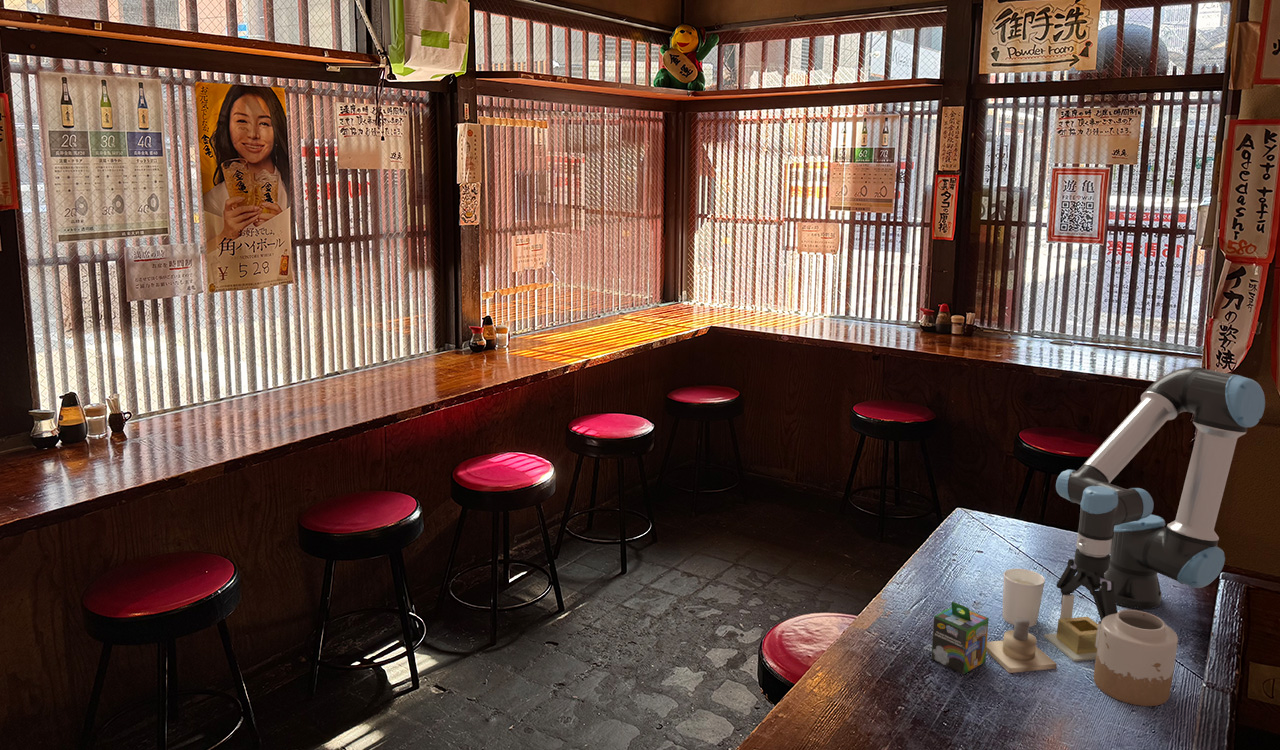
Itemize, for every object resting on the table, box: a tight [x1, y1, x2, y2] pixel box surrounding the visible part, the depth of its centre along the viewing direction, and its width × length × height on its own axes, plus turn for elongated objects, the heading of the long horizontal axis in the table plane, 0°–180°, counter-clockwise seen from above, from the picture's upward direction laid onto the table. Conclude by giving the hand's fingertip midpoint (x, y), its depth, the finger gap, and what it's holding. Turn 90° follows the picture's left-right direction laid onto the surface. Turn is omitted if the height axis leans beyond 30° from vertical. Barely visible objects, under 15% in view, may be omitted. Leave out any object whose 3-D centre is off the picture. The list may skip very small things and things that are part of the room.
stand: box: [986, 618, 1058, 674], centre depth 221 cm, size 12×12×10 cm
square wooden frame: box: [1056, 616, 1098, 654], centre depth 227 cm, size 8×8×5 cm
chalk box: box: [931, 601, 990, 675], centre depth 219 cm, size 9×9×15 cm
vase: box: [1093, 609, 1179, 707], centre depth 208 cm, size 15×15×17 cm
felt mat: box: [1043, 632, 1097, 663], centre depth 227 cm, size 12×12×1 cm
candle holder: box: [1002, 568, 1046, 628], centre depth 239 cm, size 10×10×12 cm
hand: (1083, 632), depth 227 cm, fingers open, 13 cm apart
